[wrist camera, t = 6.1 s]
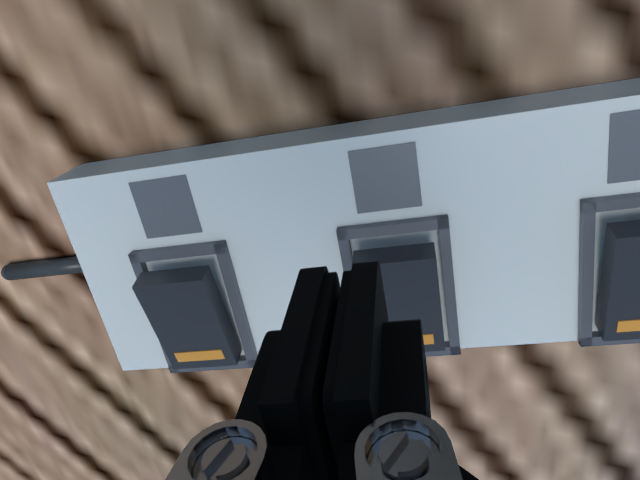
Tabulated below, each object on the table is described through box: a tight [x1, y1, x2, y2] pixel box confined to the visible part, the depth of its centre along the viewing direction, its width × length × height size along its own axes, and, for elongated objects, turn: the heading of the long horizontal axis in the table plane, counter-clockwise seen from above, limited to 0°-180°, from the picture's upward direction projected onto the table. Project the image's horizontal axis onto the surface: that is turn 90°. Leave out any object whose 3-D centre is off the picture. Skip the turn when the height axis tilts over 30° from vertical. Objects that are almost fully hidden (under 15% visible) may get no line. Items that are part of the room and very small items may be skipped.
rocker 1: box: [132, 265, 242, 369], centre depth 33 cm, size 7×4×2 cm, turn 10°
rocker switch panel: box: [1, 78, 640, 373], centre depth 33 cm, size 14×49×5 cm, turn 100°
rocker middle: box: [352, 242, 445, 352], centre depth 30 cm, size 7×4×2 cm, turn 11°
